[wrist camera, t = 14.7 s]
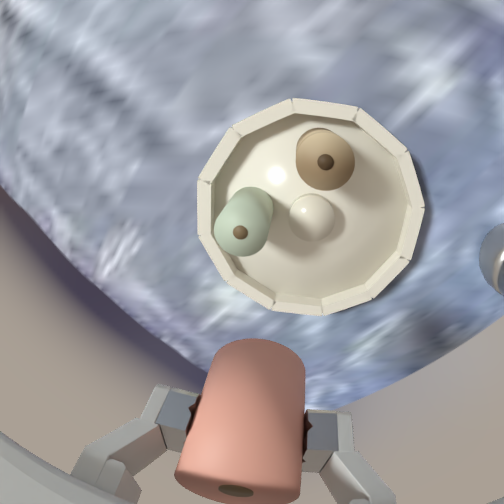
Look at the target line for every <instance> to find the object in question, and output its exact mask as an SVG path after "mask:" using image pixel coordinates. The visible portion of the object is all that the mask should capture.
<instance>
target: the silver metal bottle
mask: <svg viewBox="0 0 504 504" xmlns="http://www.w3.org/2000/svg"><path fill="white" fill-rule="evenodd" d="M479 266H480V269H481V272H482V274H483V276H484V278H485V280H486V281H487V283H488V284H490V285H491V286H492V287H493V288H494V289H495V290H496V291H497V292H499V293H500V294H502V295H503V296H504V223H503V224H500V225H497V226H496V227H494V228H493V229H492V230H491V231H490V232H489V233H488V234H487V235H486V237H485V239H484V240H483V242H482V245H481V248H480V255H479Z"/></svg>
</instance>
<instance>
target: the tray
mask: <svg viewBox="0 0 504 504" xmlns="http://www.w3.org/2000/svg"><path fill="white" fill-rule="evenodd" d="M312 128H326V129H328V130H331V131H332V132H334V133H335V134H337V135H338V136H340V137H341V138H343V139H344V140H345V141H346V142H347V143H348V144H349V145H350V147H351V149H352V151H353V153H354V157H355V167H354V171H353V174H352V176H351V178H350V179H349V180H348V181H347V183H345V184H344V185H343V186H341V187H340V188H338V189H335V190H331V191H321V190H317V189H314V188H312V187H310V186H309V185H307V184H306V183H305V182H304V181H303V180H302V179H301V177H300V176H299V174H298V171H297V168H296V145H297V142H298V140H299V138H300V137H301V135H302V134H303V133H305V132H306V131H308V130H310V129H312ZM198 178H200V179H198V180H197V214H198V235H199V239H200V240H201V242H202V244H203V246H204V247H205V249H206V251H207V252H208V254H209V256H210V257H211V259H212V261H213V262H214V264H215V266H216V268H217V269H218V271H219V273H220V274H221V276H222V278H223V279H224V281H227V284H229V285H230V286H232V287H234V288H235V289H237V290H238V291H240V292H242V293H243V294H245V295H246V296H248V297H250V298H251V299H253V300H254V301H256V302H258V303H259V304H261V305H262V306H264V307H266V308H267V309H269V310H270V309H271V307H272V311H280V312H288V313H297V314H306V315H315V316H322V313H323V315H324V316H325V315H328V314H332V313H335V312H338V311H341V310H344V309H347V308H350V307H352V306H355V305H358V304H361V303H364V302H367V301H370V300H372V299H371V297H372V298H375V297H376V296H377V295H378V294H379V293H380V292H381V291H382V290H383V289H384V288H385V287H386V286H387V285H388V284H389V283H390V282H391V281H392V280H393V279H394V278H395V277H396V276H397V275H398V274H399V273H400V272H401V271H402V270H403V269H404V268H405V266H406V265H407V264H408V263H409V260H411V258H412V255H413V251H414V248H415V244H416V241H417V237H418V234H419V230H420V226H421V222H422V219H423V215H424V210H425V208H424V206H425V204H424V201H423V197H422V193H421V189H420V186H419V182H418V179H417V175H416V172H415V169H414V165H413V162H412V159H411V156H410V153H409V151H407V148H406V147H405V146H404V145H403V144H402V143H401V142H399V141H398V140H397V139H396V138H395V137H394V136H393V135H392V134H391V133H389V132H388V131H387V130H386V129H385V128H384V127H383V126H381V125H380V124H379V123H378V122H377V121H375V120H374V119H373V118H372V117H371V116H369V115H368V114H367V113H366V112H365V111H363V110H362V109H361V108H358V107H355V106H349V105H343V104H337V103H330V102H323V101H316V100H307V99H298V98H293V102H291V100H290V99H287V100H285V101H283V102H280V103H278V104H276V105H274V106H271V107H269V108H267V109H265V110H263V111H261V112H258V113H256V114H254V115H252V116H250V117H248V118H246V119H244V120H242V121H240V122H238V123H236V124H234V125H232V127H230V128H229V129H228V131H227V132H226V134H225V135H224V137H223V138H222V140H221V141H220V143H219V145H218V146H217V148H216V149H215V151H214V153H213V154H212V156H211V157H210V159H209V161H208V162H207V164H206V165H205V167H204V169H203V170H202V172H201V174H200V175H199V177H198ZM244 187H257V188H260V189H262V190H264V191H265V192H266V193H267V194H268V195H269V196H270V198H271V199H272V202H273V206H274V211H273V216H272V220H271V225H270V229H269V233H268V237H267V241H266V243H265V245H264V247H263V248H262V249H261V250H260V251H259V252H257V253H256V254H254V255H251V256H246V257H239V256H235V255H232V254H229V253H228V252H226V251H225V250H223V249H222V248H221V247H220V245H219V244H218V242H217V241H216V238H215V235H214V225H215V221H216V219H217V217H218V216H219V215H220V213H221V212H222V210H223V209H224V207H225V206H226V205H227V203H228V202H229V200H230V199H231V198H232V196H233V195H234V194H235V193H236V192H237V191H238V190H240V189H241V188H244Z"/></svg>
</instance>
